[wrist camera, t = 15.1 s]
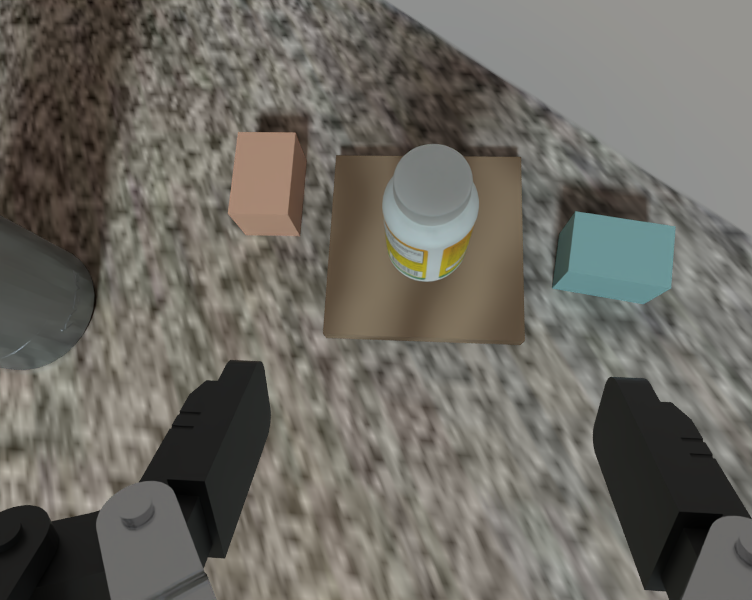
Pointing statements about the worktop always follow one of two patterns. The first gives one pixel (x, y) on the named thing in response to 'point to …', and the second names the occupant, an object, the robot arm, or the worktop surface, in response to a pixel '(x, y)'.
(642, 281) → the teal block
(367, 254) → the walnut board
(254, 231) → the terracotta block
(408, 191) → the supplement bottle
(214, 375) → the worktop surface
